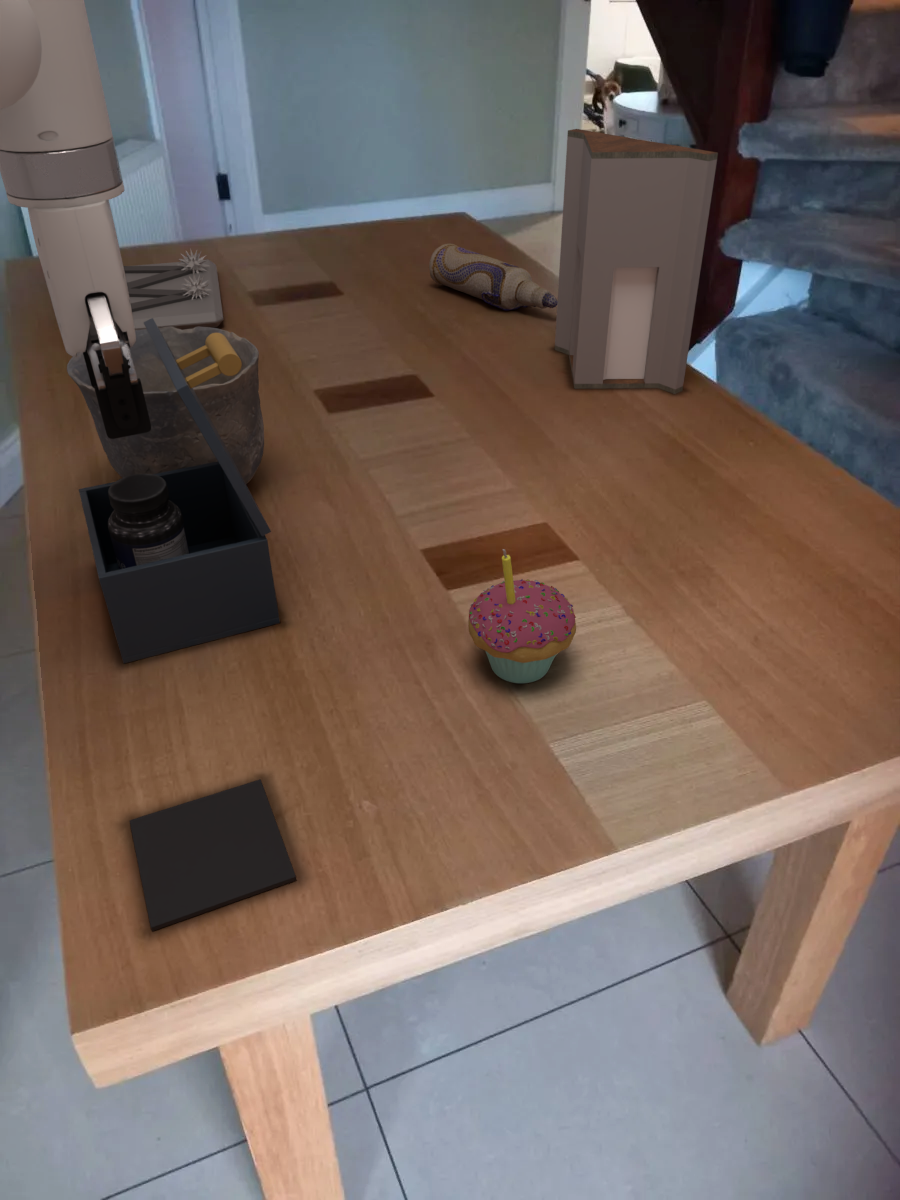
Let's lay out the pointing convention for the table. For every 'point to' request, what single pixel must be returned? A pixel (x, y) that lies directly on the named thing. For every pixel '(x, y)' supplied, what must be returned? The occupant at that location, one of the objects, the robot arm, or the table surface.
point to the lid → (224, 364)
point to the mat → (209, 853)
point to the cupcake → (521, 626)
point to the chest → (186, 570)
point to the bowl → (184, 408)
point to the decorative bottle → (487, 279)
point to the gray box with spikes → (175, 293)
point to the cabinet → (630, 259)
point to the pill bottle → (145, 521)
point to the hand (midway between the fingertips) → (120, 408)
